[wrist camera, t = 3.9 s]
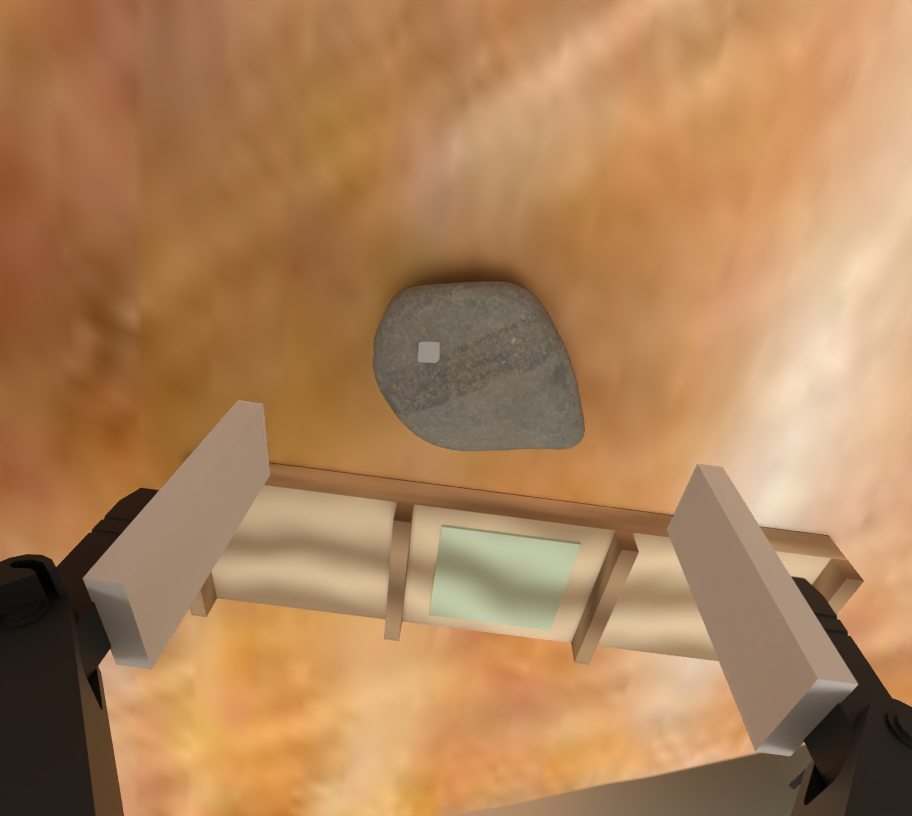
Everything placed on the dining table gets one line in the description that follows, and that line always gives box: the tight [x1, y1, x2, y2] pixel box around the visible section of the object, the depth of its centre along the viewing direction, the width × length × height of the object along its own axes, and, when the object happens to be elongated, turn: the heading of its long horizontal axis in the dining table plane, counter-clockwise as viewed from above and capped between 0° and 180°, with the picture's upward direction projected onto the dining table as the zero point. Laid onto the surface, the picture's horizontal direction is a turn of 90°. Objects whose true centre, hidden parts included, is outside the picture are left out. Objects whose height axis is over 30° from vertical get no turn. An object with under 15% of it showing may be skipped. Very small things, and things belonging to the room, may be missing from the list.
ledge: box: [190, 463, 864, 665], centre depth 33 cm, size 11×40×4 cm, turn 83°
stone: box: [373, 281, 585, 451], centre depth 25 cm, size 9×9×10 cm
